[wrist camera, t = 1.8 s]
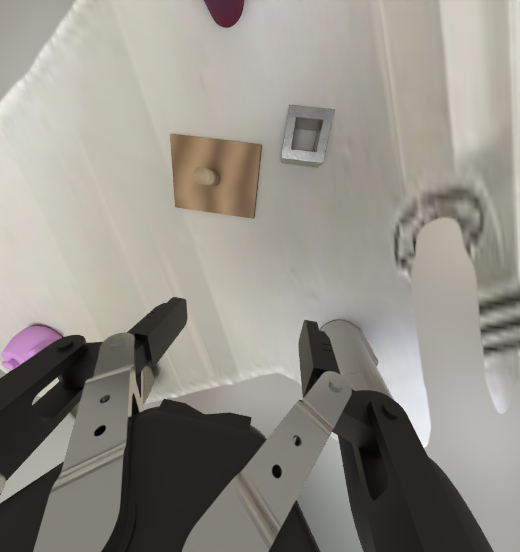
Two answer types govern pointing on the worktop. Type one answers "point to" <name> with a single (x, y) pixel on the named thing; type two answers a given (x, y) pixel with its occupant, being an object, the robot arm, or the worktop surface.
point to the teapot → (27, 345)
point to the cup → (225, 11)
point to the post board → (229, 169)
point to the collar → (308, 121)
